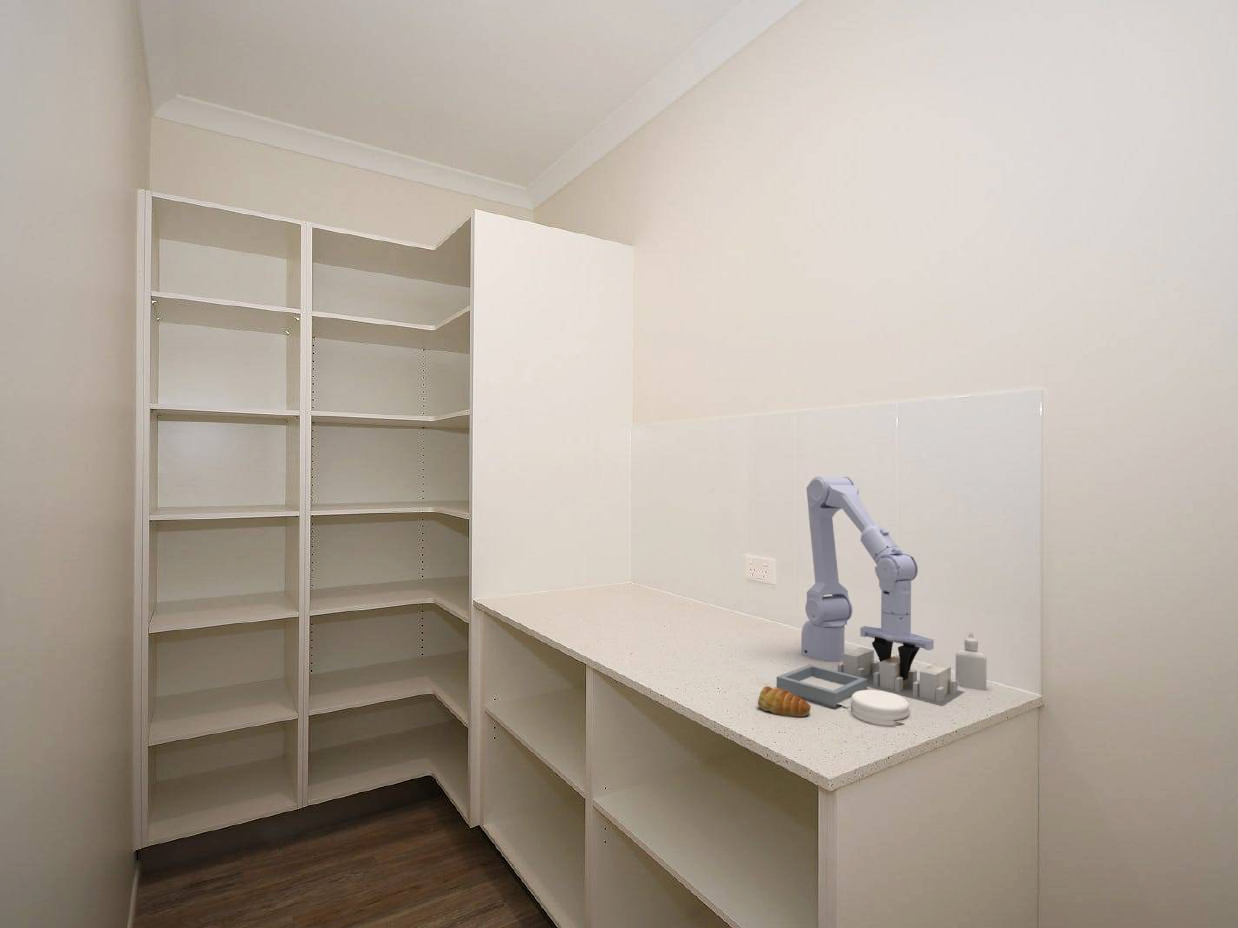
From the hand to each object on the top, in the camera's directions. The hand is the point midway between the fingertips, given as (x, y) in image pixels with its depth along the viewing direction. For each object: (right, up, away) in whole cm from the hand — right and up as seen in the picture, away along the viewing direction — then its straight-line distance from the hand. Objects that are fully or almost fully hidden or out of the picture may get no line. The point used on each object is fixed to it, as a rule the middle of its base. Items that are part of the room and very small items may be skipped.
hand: (895, 677), depth 133 cm
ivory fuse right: (+5, -1, -6) cm, 8 cm away
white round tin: (-9, -3, -15) cm, 18 cm away
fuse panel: (0, -2, 0) cm, 2 cm away
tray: (-16, -2, -3) cm, 17 cm away
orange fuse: (0, -1, 0) cm, 1 cm away
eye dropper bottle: (+16, -3, -1) cm, 16 cm away
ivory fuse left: (-5, -1, +6) cm, 8 cm away
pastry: (-27, -2, -12) cm, 30 cm away
